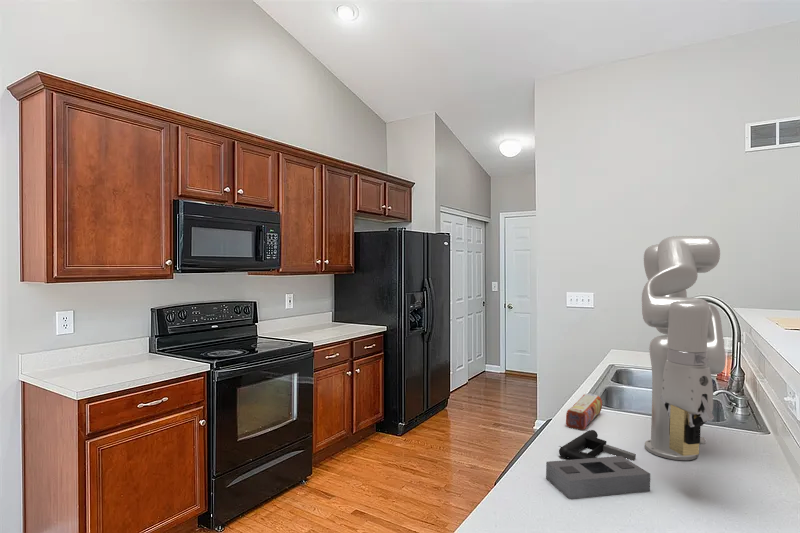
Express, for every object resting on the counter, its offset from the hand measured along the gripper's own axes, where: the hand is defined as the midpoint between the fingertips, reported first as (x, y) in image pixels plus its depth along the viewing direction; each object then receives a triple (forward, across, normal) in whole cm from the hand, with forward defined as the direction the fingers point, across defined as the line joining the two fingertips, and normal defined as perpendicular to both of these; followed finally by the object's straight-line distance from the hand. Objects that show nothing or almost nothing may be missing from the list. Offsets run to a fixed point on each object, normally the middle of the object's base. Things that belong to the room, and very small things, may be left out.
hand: (684, 438), depth 108 cm
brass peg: (+3, 0, 0) cm, 3 cm away
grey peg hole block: (+12, +7, +17) cm, 22 cm away
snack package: (+14, +48, -7) cm, 51 cm away
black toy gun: (+14, +23, +5) cm, 27 cm away
